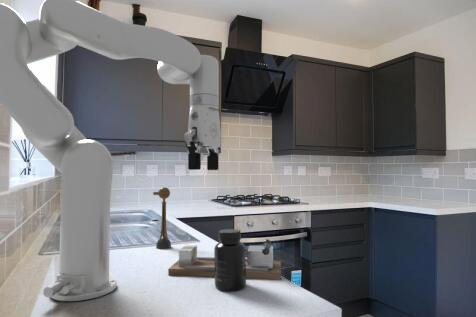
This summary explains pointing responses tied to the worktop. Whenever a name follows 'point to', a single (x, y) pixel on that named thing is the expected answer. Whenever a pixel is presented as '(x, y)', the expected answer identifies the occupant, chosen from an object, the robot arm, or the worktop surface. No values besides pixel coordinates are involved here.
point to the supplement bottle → (230, 261)
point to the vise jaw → (260, 256)
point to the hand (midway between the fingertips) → (204, 169)
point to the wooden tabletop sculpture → (163, 220)
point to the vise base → (206, 266)
